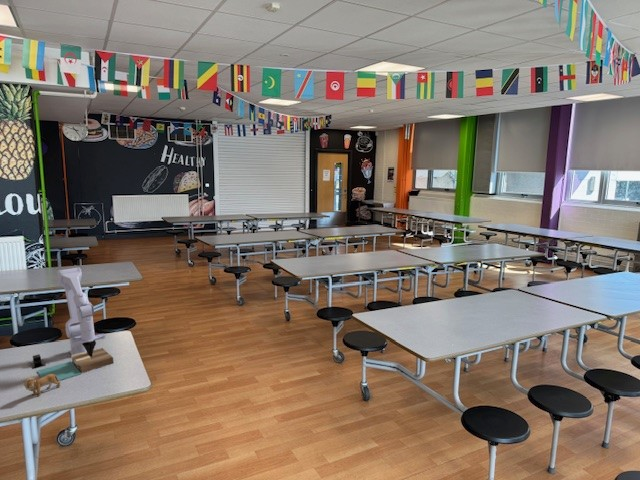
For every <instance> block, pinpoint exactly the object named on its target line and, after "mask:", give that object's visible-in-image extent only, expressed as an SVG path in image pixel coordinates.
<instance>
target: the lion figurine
mask: <svg viewBox="0 0 640 480" xmlns="http://www.w3.org/2000/svg"><path fill="white" fill-rule="evenodd" d="M55 378H56V379H55ZM47 383H49V384H48V386H47V385H46V384H47ZM53 384H54V385H56V388H60V387H61V381H58V378H57V376H56V375H54V374H48V375H46V376H45V377H43V378H41V377H40V378H38V377H29V378H26V379H25V380H24V383H23V386H24V387H25V390H27V391H30V392H33V393H32V395H31V396H32V397H34V396H36V397H38V398H39V397H41V396H42V395H41V388H42V387H45V386H47V387H46V390H49V389H51V387H52V385H53Z"/></svg>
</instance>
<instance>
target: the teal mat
mask: <svg viewBox="0 0 640 480" xmlns="http://www.w3.org/2000/svg"><path fill="white" fill-rule="evenodd" d="M36 372H37V373H38V375H39V377H40V378H43V377H45V376H46V375H48V374H54V375H56V376H57V378H58V381H59V382H61V381H64V380H67V379H69V378H73V377H76V376H80V375H81V374H82V373H81V372H80V370H79V369H78V368H77V367H76V366H75V365H74V363H73V362H72V360H70V361H66V362H63V363H59V364H56V365H53V366H49V367H45V368H42V369H38V370H36ZM55 379H56V378H55ZM47 385H48V386H49V383H47V384H46V385H45V386H47Z"/></svg>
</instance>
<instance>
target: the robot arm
mask: <svg viewBox="0 0 640 480" xmlns="http://www.w3.org/2000/svg"><path fill="white" fill-rule="evenodd" d="M56 273H57V276H56V277H57V282H58V285H59V287H61V288H63V289H64V292H65V297H66V301H67V307H68V313H69V317H70V318H69V319H68V320H67V321H66V323H65V325H64V326H65V334H66V337H68V339H69V342H70V343H69V344H70V350H68V351H69V354H70V355H75V354H78V353H82V352H87V353H88V355H89V356H90V357H92V355H93V350H95V347H96V345H97V342H96V341H98V340H101V339H106V334H105V333H100V334H95V326H94V325H95V324H94V317H93V316H95V308H94V305H93V304H92V303H91V301H89V298H88V297H87V294H86V292H83V290H82V286H81V280H82V278H83V277H82V276H83V272H82V269H81V268H80V267H79V266H76V267H73V268H67V269H59V270H57V272H56Z"/></svg>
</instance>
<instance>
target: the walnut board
mask: <svg viewBox="0 0 640 480" xmlns="http://www.w3.org/2000/svg"><path fill="white" fill-rule="evenodd" d="M86 353H87V352H86ZM87 354H88V353H87ZM71 362H72V363H73V364H74V366H75V367H76V368H77V369H78V370H79V372H80V373H81V374H83V373H86V372H89V371H93V370H96V369H97V370H98V369H100V368H103V367H107V366H110V365H112V364H114V357H113V356H112V355H111V354H110V353H109V352H107V350H105V349H104V347H101V348H98V349H94V350H93V355H92V357H91V361H90V362H87V363H83V364H80V365H76V364H75V362H74V361H73V360H72V359H71Z"/></svg>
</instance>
